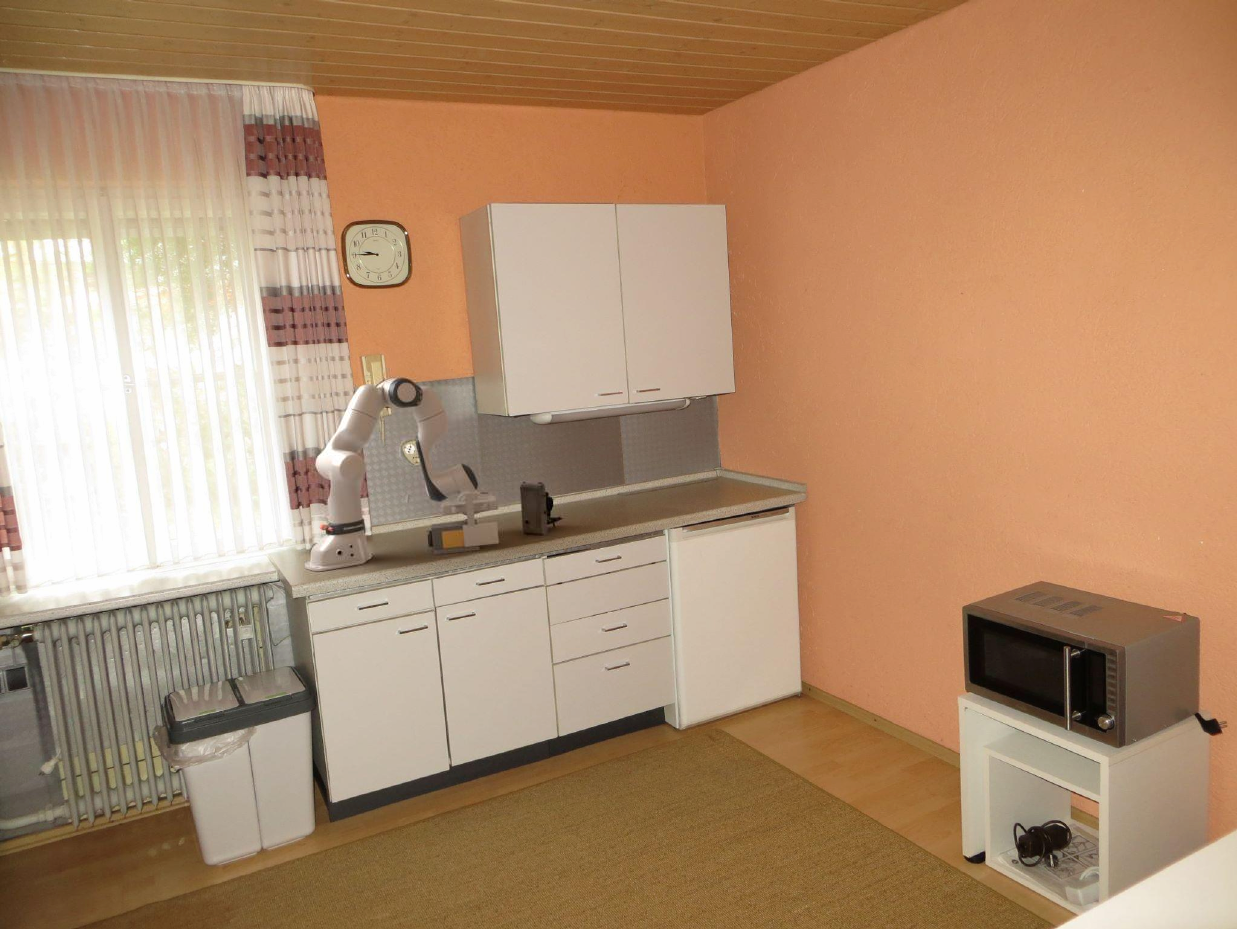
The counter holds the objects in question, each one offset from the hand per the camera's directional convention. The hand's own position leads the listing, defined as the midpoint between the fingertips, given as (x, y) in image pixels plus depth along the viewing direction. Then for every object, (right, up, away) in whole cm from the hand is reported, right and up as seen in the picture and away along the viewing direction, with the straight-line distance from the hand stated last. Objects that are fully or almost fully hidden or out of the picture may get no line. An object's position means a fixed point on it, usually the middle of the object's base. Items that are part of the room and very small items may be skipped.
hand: (470, 509), depth 317 cm
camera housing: (-7, -14, +5) cm, 17 cm away
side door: (+4, -13, +3) cm, 13 cm away
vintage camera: (+24, -9, +26) cm, 37 cm away
